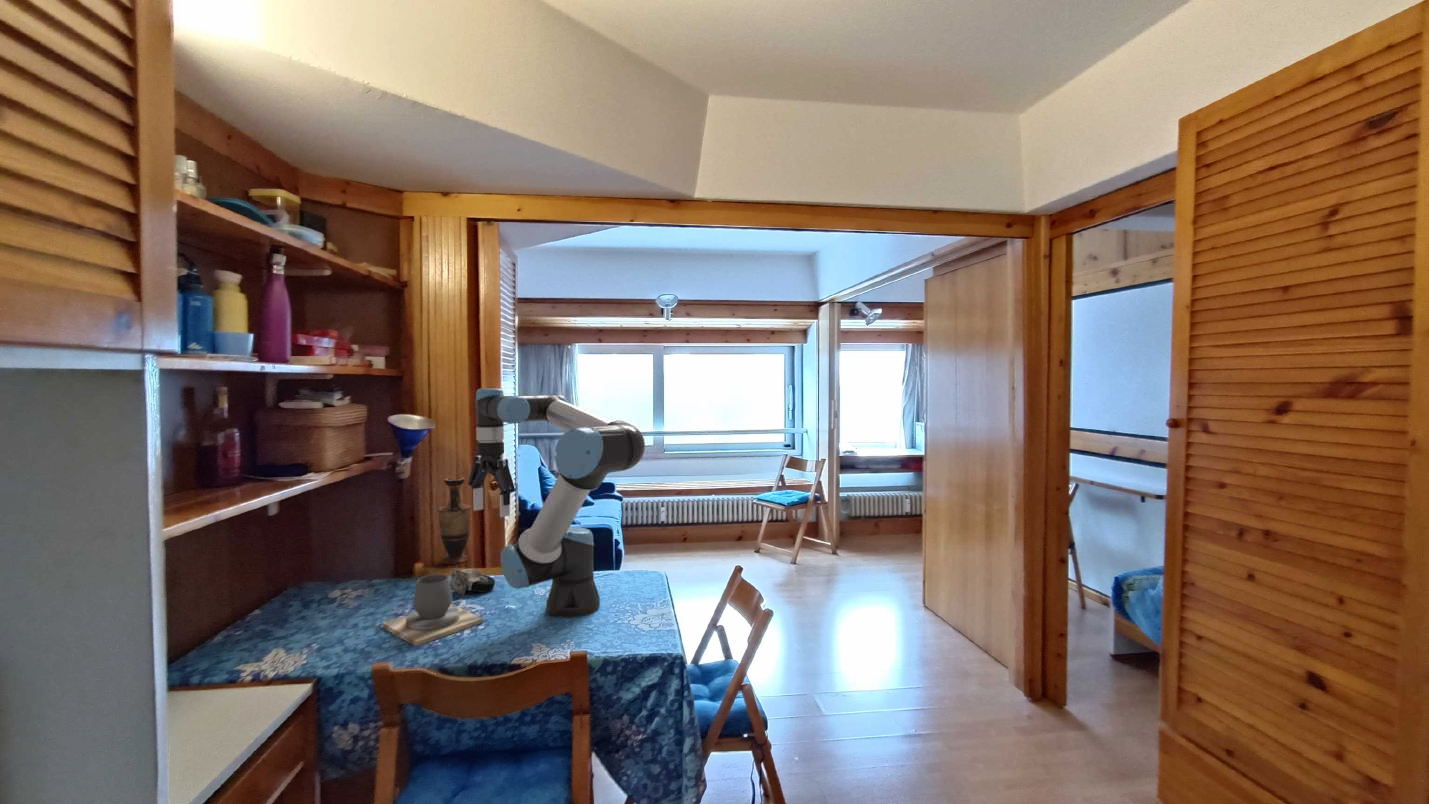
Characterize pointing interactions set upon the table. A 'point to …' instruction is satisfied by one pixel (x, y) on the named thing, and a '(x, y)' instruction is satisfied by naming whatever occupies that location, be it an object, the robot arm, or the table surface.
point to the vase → (454, 524)
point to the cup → (432, 596)
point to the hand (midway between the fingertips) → (491, 513)
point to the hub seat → (431, 625)
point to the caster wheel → (470, 581)
